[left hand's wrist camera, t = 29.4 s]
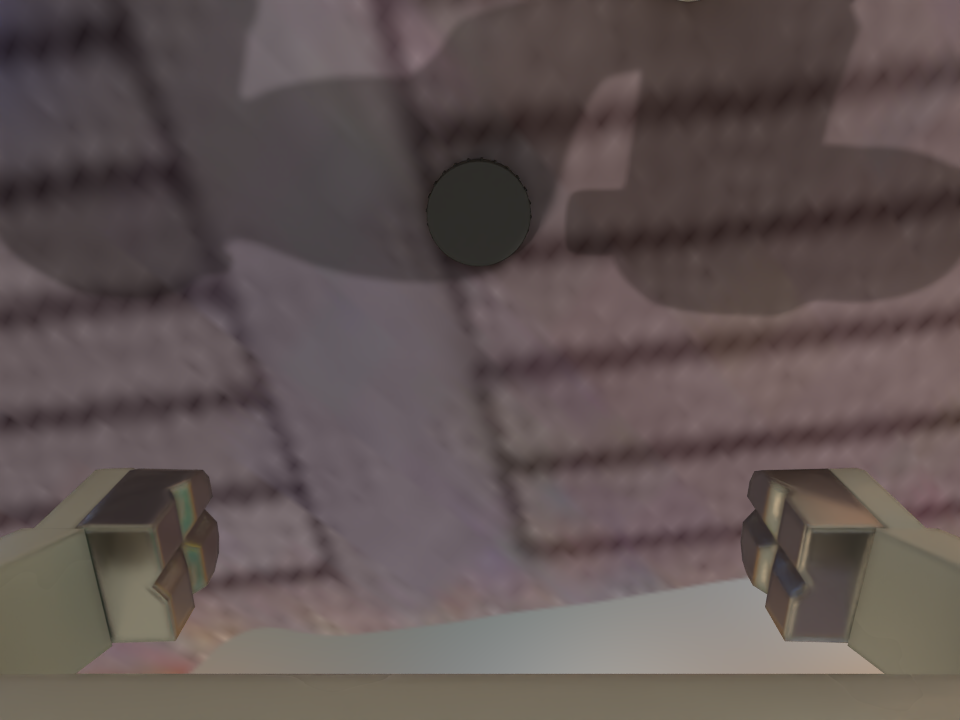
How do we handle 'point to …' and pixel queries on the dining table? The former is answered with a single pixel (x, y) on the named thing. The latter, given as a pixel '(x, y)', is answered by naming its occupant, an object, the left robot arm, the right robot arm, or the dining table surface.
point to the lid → (478, 212)
